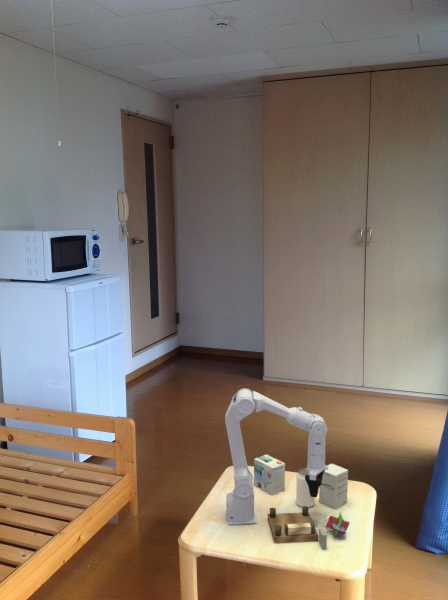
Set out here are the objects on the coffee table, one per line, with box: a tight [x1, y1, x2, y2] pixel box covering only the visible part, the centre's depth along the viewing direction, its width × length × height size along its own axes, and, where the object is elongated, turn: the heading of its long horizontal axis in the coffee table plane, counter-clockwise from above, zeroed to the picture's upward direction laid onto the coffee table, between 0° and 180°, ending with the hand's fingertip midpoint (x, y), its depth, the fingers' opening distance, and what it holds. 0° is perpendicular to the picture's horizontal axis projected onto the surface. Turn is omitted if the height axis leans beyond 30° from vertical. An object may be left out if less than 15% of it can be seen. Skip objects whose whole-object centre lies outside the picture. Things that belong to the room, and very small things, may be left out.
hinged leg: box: [285, 520, 316, 535], centre depth 177 cm, size 10×2×3 cm, turn 94°
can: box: [295, 467, 316, 509], centre depth 199 cm, size 6×6×12 cm
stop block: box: [318, 527, 328, 550], centre depth 174 cm, size 1×4×5 cm, turn 4°
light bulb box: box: [253, 453, 286, 496], centre depth 211 cm, size 11×7×11 cm, turn 37°
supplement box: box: [318, 463, 349, 510], centre depth 200 cm, size 7×7×13 cm
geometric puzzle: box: [324, 512, 351, 538], centre depth 180 cm, size 7×7×8 cm
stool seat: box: [267, 506, 319, 544], centre depth 183 cm, size 14×14×4 cm
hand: (315, 491), depth 189 cm, fingers open, 7 cm apart
